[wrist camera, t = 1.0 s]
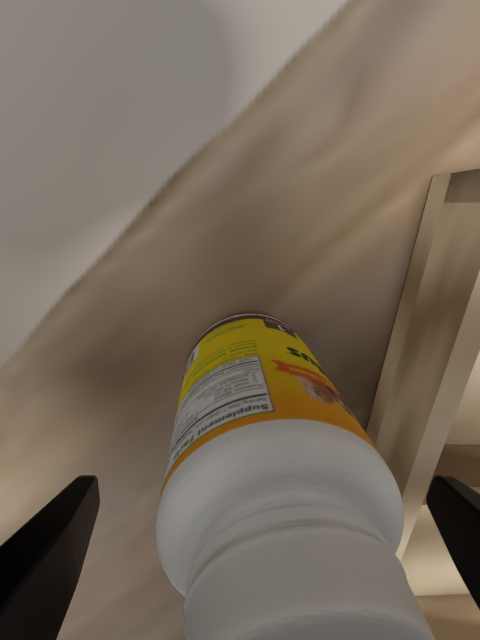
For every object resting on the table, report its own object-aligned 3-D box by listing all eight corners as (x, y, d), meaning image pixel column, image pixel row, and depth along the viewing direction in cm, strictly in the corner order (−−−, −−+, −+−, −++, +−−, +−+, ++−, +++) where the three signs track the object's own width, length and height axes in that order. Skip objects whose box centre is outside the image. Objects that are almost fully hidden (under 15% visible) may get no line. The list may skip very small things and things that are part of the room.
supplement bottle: (323, 387, 15) (519, 715, 5) (219, 432, 15) (226, 808, 6) (280, 286, 13) (464, 508, 3) (164, 340, 13) (31, 673, 4)
